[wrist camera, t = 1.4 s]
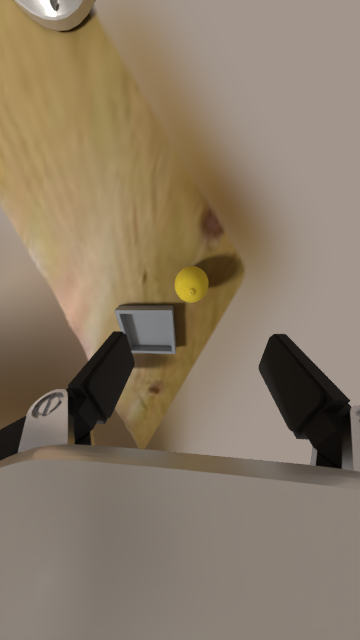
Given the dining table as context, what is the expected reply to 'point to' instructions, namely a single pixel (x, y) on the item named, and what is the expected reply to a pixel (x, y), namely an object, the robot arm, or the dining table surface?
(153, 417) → the dining table surface
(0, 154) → the dining table surface
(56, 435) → the robot arm
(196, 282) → the lemon
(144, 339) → the tray
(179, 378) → the dining table surface
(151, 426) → the dining table surface
